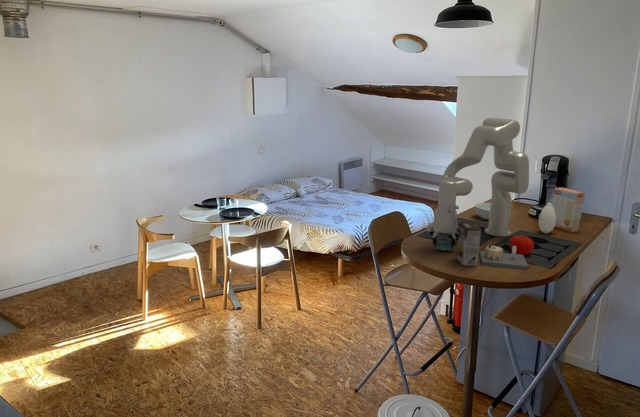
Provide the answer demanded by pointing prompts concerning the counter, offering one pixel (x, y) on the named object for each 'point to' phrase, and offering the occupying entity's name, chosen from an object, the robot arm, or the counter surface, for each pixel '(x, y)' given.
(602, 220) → the counter surface
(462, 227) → the brown printed box
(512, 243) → the tomato
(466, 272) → the counter surface
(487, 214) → the cereal bowl
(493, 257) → the gear board
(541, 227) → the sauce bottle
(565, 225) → the cracker box
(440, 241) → the teal gear
